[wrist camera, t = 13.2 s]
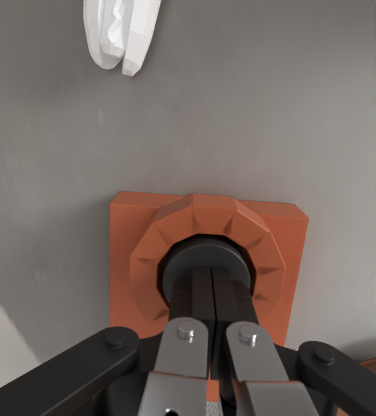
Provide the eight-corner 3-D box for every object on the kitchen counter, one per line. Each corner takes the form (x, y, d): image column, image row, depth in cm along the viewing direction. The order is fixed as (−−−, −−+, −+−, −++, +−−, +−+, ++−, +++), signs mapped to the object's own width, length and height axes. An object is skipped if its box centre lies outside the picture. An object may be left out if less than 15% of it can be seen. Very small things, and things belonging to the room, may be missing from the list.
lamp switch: (168, 225, 14) (164, 240, 13) (249, 231, 15) (256, 248, 13) (164, 296, 16) (160, 319, 14) (239, 301, 16) (244, 325, 14)
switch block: (120, 176, 17) (98, 197, 13) (297, 189, 17) (328, 215, 13) (118, 364, 20) (100, 425, 16) (264, 374, 20) (281, 438, 16)
